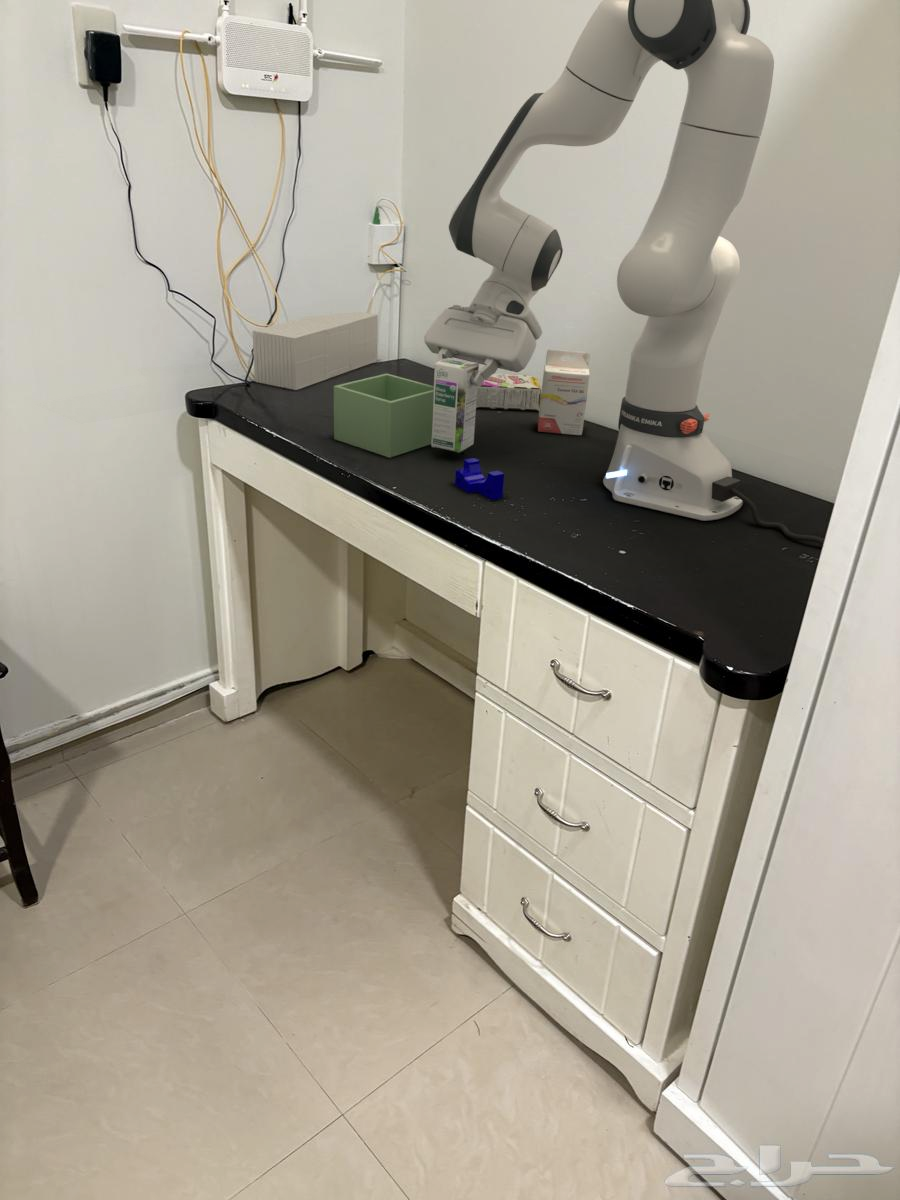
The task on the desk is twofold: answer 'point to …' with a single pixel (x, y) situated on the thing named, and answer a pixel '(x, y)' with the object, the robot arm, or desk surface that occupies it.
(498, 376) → the candy bar box
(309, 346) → the stack of papers
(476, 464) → the cable holder
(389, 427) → the waste bin
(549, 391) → the ink cartridge box
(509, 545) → the desk surface
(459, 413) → the syrup box
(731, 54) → the robot arm
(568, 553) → the desk surface
